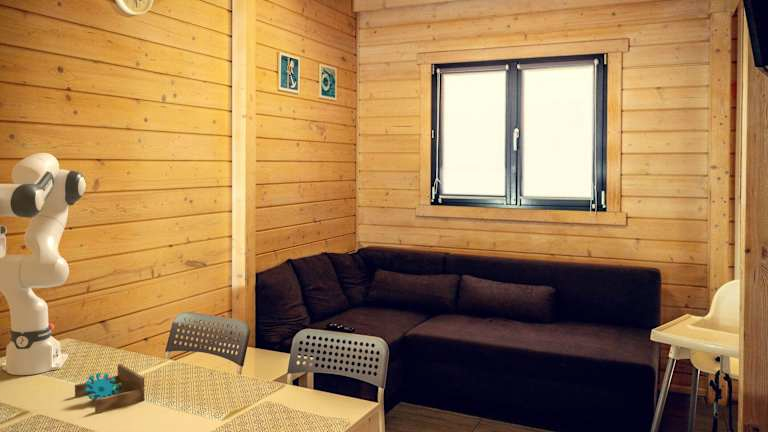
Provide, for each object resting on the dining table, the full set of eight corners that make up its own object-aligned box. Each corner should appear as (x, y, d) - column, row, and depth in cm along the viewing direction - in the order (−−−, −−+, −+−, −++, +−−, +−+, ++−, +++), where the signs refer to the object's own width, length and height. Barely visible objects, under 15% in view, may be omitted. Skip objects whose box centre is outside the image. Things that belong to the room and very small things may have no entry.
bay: (96, 412, 185) (95, 388, 184) (74, 396, 197) (74, 373, 196) (144, 400, 195) (144, 377, 194) (121, 385, 207) (120, 363, 206)
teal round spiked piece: (90, 403, 187) (82, 373, 192) (82, 414, 190) (75, 384, 195) (127, 398, 195) (119, 369, 200) (119, 408, 198) (111, 380, 203)
